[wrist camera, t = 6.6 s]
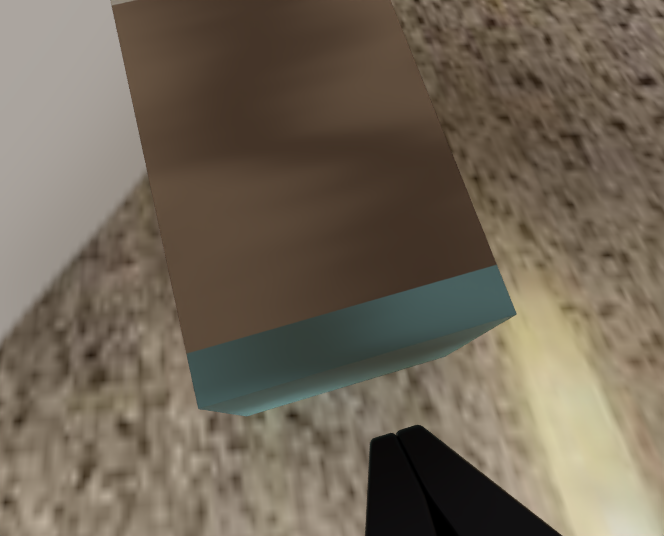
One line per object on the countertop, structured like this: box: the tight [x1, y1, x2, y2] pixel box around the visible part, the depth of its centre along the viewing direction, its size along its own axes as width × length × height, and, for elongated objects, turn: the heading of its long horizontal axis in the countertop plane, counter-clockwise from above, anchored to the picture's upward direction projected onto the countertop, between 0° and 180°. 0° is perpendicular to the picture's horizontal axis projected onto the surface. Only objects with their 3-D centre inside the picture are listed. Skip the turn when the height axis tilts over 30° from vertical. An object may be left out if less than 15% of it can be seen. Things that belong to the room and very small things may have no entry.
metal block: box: [111, 0, 516, 416], centre depth 14 cm, size 6×6×10 cm
